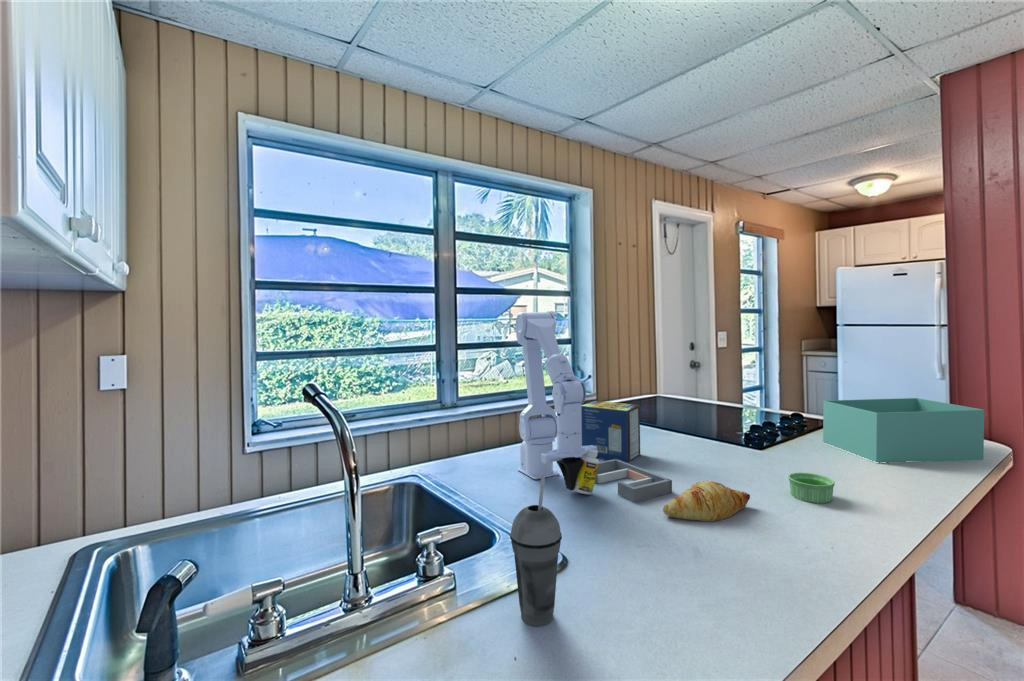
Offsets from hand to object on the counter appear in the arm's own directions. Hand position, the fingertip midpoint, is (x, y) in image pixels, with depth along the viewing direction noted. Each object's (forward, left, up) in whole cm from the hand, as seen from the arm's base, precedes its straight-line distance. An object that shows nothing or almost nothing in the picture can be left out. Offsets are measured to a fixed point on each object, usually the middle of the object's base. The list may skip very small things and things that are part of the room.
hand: (570, 488), depth 109 cm
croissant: (+21, +20, -2) cm, 30 cm away
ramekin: (+28, +48, -2) cm, 55 cm away
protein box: (-22, +31, -2) cm, 38 cm away
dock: (0, +17, -2) cm, 17 cm away
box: (+20, +107, -2) cm, 109 cm away
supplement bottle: (0, +3, -1) cm, 3 cm away
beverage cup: (+34, -29, -2) cm, 45 cm away
